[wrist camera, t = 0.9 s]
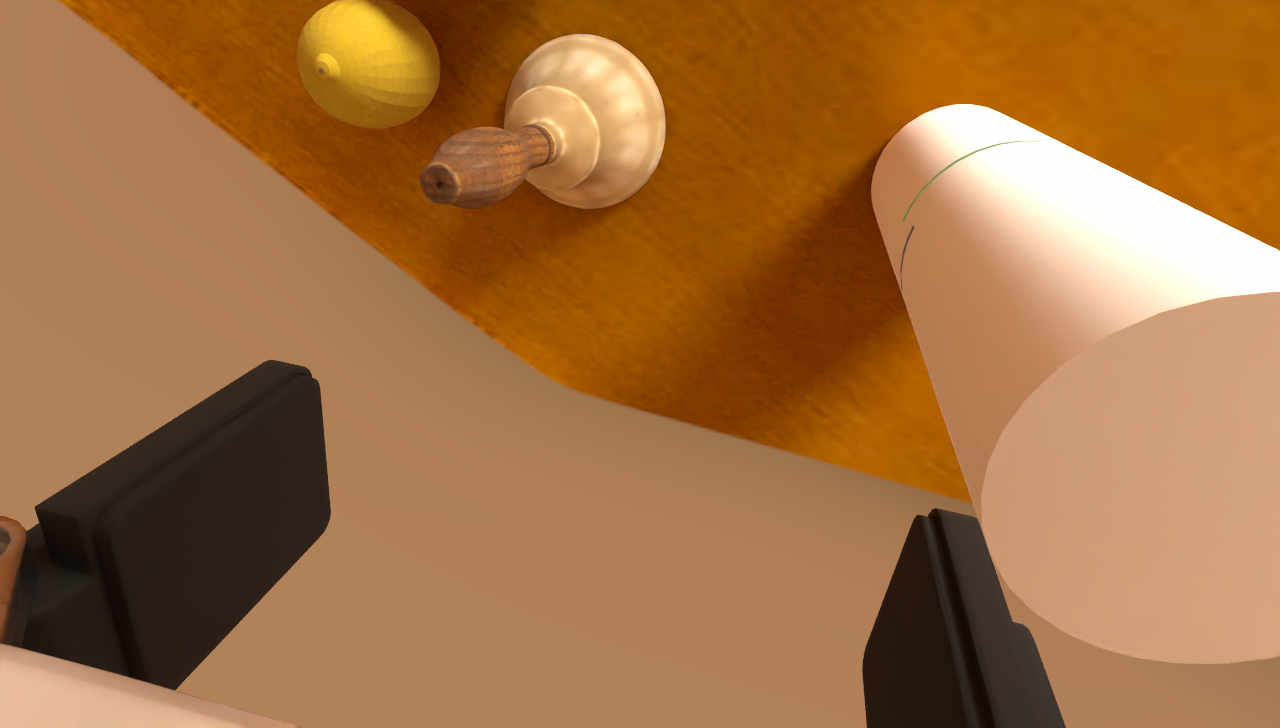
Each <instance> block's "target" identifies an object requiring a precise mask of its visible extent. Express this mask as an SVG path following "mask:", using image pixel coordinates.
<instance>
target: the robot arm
mask: <svg viewBox="0 0 1280 728" xmlns="http://www.w3.org/2000/svg"><path fill="white" fill-rule="evenodd" d="M35 510H36V513H37V517H38V520H39V524H37V525H35V526H34V527H33V528H31V529H29V530H28V531H26V529H25V528H24V527H23V526H22V525H21V524H20V523H19V522H18V521H16V520H13V519H10V518H8V517H5V516H0V728H303V727H299V726H296V725H292V724H289V723H285V722H282V721H279V720H275V719H271V718H268V717H265V716H261V715H258V714H254V713H251V712H247V711H244V710H241V709H237V708H234V707H230V706H227V705H223V704H220V703H216V702H213V701H209V700H206V699H202V698H199V697H195V696H192V695H188V694H185V693H182V692H178V691H175V690H176V689H177V688H178V687H179V686H180V684H181V683H182V682H183V681H184V680H185V679H186V678H187V677H188V676H189V675H190V674H191V673H192V672H193V671H194V669H196V668H197V667H198V665H199V664H200V663H201V662H202V661H203V660H204V659H205V658H206V657H207V656H208V655H209V654H210V653H211V652H212V651H213V650H214V649H215V647H216V646H217V645H218V644H219V643H220V642H221V641H222V640H223V639H224V638H225V637H226V636H227V635H228V634H229V633H230V631H232V629H233V628H234V627H235V626H236V625H237V624H238V623H239V622H240V621H241V620H242V619H243V618H244V617H245V616H246V615H247V614H248V613H249V611H250V610H251V609H252V608H253V607H254V606H255V605H256V604H257V603H258V602H259V601H260V600H261V599H262V598H263V596H265V594H266V593H267V592H268V591H269V590H270V589H271V588H272V587H273V586H274V585H275V584H276V583H277V582H278V581H279V580H280V578H281V577H282V576H283V575H284V574H285V573H286V572H287V571H288V570H289V569H290V568H291V567H292V566H293V565H294V564H295V563H296V562H297V561H298V560H299V558H300V557H301V556H302V555H303V554H304V553H305V552H306V551H307V550H308V549H309V548H310V547H311V546H312V545H313V544H314V542H315V541H316V540H317V539H318V538H319V537H320V536H321V535H322V534H323V533H324V531H325V529H326V528H327V526H328V523H329V520H330V514H331V509H330V498H329V486H328V474H327V462H326V452H325V440H324V428H323V416H322V405H321V393H320V386H319V383H318V381H317V380H316V379H314V378H312V374H311V372H310V371H309V369H307V368H306V367H302V366H298V365H294V364H289V363H285V362H280V361H276V360H268V361H266V362H264V363H262V364H261V365H259V366H257V367H256V368H254V369H252V370H251V371H249V372H248V373H246V374H244V375H243V376H241V377H240V378H238V379H237V380H235V381H234V382H232V383H230V384H229V385H227V386H225V387H224V388H222V389H221V390H219V391H218V392H216V393H214V394H213V395H211V396H210V397H208V398H207V399H205V400H204V401H202V402H200V403H199V404H197V405H196V406H194V407H192V408H191V409H189V410H187V411H186V412H184V413H183V414H181V415H179V416H178V417H177V418H175V419H173V420H172V421H170V422H168V423H167V424H165V425H164V426H162V427H161V428H159V429H158V430H156V431H154V432H153V433H151V434H149V435H148V436H146V437H145V438H143V439H142V440H140V441H138V442H137V443H135V444H133V445H132V446H130V447H129V448H127V449H126V450H124V451H122V452H121V453H119V454H118V455H116V456H115V457H113V458H111V459H110V460H108V461H107V462H105V463H103V464H102V465H100V466H99V467H97V468H96V469H94V470H92V471H91V472H89V473H88V474H86V475H84V476H83V477H81V478H80V479H78V480H77V481H75V482H73V483H72V484H70V485H69V486H67V487H65V488H64V489H62V490H61V491H59V492H57V493H56V494H54V495H53V496H51V497H49V498H48V499H46V500H45V501H43V502H42V503H40V504H38V505H37V506H35ZM863 684H864V696H865V709H866V721H867V728H1066V727H1065V724H1064V721H1063V718H1062V716H1061V713H1060V710H1059V707H1058V705H1057V702H1056V699H1055V696H1054V694H1053V691H1052V688H1051V686H1050V682H1049V680H1048V677H1047V674H1046V671H1045V669H1044V666H1043V663H1042V661H1041V658H1040V655H1039V652H1038V649H1037V647H1036V644H1035V641H1034V638H1033V637H1032V635H1031V633H1030V631H1029V629H1028V628H1027V627H1025V626H1024V625H1023V624H1019V623H1015V622H1013V621H1012V619H1011V616H1010V613H1009V610H1008V607H1007V604H1006V601H1005V598H1004V595H1003V592H1002V589H1001V586H1000V583H999V580H998V577H997V574H996V571H995V568H994V565H993V562H992V559H991V556H990V553H989V550H988V547H987V544H986V541H985V538H984V535H983V532H982V529H981V526H980V523H979V521H978V520H977V518H975V517H972V516H967V515H964V514H959V513H955V512H950V511H946V510H941V509H937V508H935V509H933V510H932V511H931V512H930V513H929V515H928V517H926V516H922V515H917V516H916V517H915V519H914V520H913V523H912V525H911V528H910V530H909V533H908V536H907V538H906V541H905V544H904V546H903V549H902V552H901V554H900V557H899V560H898V563H897V565H896V568H895V570H894V573H893V576H892V578H891V581H890V584H889V586H888V589H887V592H886V594H885V597H884V600H883V602H882V605H881V608H880V610H879V613H878V616H877V618H876V621H875V624H874V626H873V630H872V632H871V635H870V637H869V640H868V642H867V645H866V648H865V653H864V659H863Z"/></svg>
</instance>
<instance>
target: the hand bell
mask: <svg viewBox="0 0 1280 728" xmlns="http://www.w3.org/2000/svg"><path fill="white" fill-rule="evenodd" d="M665 131H666V121H665V112H664V106H663V102H662V98H661V96H660V93H659V90H658V87H657V85H656V83H655V82H654V80H653V78H652V76H651V75H650V73H649V72H648V70H647V69H646V67H645V66H644V65H643V64H642V63H641V62H640V61H639V60H638V59H637V58H636V57H635V56H634V55H633V54H632V53H631V52H630V51H628V50H627V49H625V48H624V47H623V46H621V45H620V44H618V43H616V42H613V41H611V40H609V39H606V38H603V37H600V36H596V35H589V34H573V35H566V36H562V37H558V38H556V39H553V40H551V41H549V42H547V43H545V44H543V45H541V46H540V47H538V48H537V49H536V50H535V51H533V52H532V53H531V54H530V55H529V56H528V57H527V58H526V59H525V60H524V62H523V63H522V64H521V66H520V67H519V68H518V70H517V72H516V74H515V75H514V77H513V79H512V82H511V84H510V87H509V90H508V94H507V98H506V105H505V124H504V129H501V128H497V127H476V128H472V129H468V130H465V131H462V132H459V133H457V134H455V135H453V136H452V137H450V138H449V139H447V140H446V141H445V142H444V143H443V144H442V145H441V146H440V147H439V148H438V150H437V151H436V153H435V155H434V156H433V158H432V160H431V162H430V163H429V164H428V165H427V166H426V167H425V168H424V169H423V171H422V173H421V176H420V184H421V189H422V191H423V192H424V194H425V196H426V197H427V198H428V199H429V200H430V201H432V202H433V203H437V204H446V205H453V206H456V207H460V208H468V209H476V208H483V207H488V206H491V205H493V204H496V203H498V202H500V201H502V200H503V199H505V198H506V197H508V196H509V195H511V194H512V193H513V192H514V191H515V190H516V189H517V188H518V187H519V186H520V184H521V183H522V182H523V180H524V179H525V180H527V181H528V182H529V183H531V184H533V185H534V186H535V187H536V188H537V189H538V190H539V191H540V192H542V193H543V194H545V195H546V196H548V197H550V198H551V199H553V200H555V201H557V202H559V203H562V204H564V205H567V206H571V207H575V208H583V209H596V208H604V207H609V206H612V205H615V204H617V203H620V202H622V201H624V200H625V199H627V198H629V197H631V196H632V195H633V194H635V193H636V192H637V191H638V190H639V189H640V188H641V187H642V186H643V185H644V184H645V183H646V182H647V181H648V179H649V178H650V177H651V175H652V174H653V172H654V171H655V169H656V167H657V165H658V162H659V160H660V157H661V154H662V150H663V147H664V141H665Z"/></svg>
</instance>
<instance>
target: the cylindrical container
mask: <svg viewBox="0 0 1280 728" xmlns="http://www.w3.org/2000/svg"><path fill="white" fill-rule="evenodd" d="M871 197H872V206H873V209H874V213H875V216H876V219H877V222H878V225H879V228H880V231H881V234H882V237H883V240H884V243H885V246H886V249H887V252H888V255H889V258H890V261H891V264H892V267H893V270H894V273H895V276H896V279H897V281H898V284H899V287H900V290H901V293H902V296H903V299H904V302H905V305H906V308H907V311H908V314H909V317H910V320H911V323H912V326H913V329H914V332H915V335H916V338H917V341H918V344H919V347H920V350H921V353H922V356H923V359H924V362H925V365H926V368H927V371H928V374H929V377H930V380H931V383H932V386H933V389H934V392H935V394H936V397H937V400H938V403H939V406H940V409H941V412H942V415H943V418H944V421H945V424H946V427H947V430H948V433H949V436H950V438H951V441H952V444H953V447H954V450H955V453H956V456H957V459H958V462H959V465H960V468H961V471H962V474H963V477H964V480H965V482H966V485H967V488H968V491H969V494H970V497H971V500H972V503H973V506H974V509H975V512H976V515H977V518H978V521H979V523H980V526H981V529H982V532H983V535H984V538H985V541H986V544H987V547H988V550H989V553H990V556H991V559H992V560H993V562H994V563H995V565H996V567H997V568H998V570H999V572H1000V573H1001V575H1002V576H1003V578H1004V580H1005V581H1006V583H1007V585H1008V586H1009V588H1010V589H1011V590H1012V591H1013V592H1014V593H1015V594H1016V595H1017V596H1018V597H1019V598H1020V599H1021V600H1022V601H1023V602H1024V603H1025V604H1026V605H1027V606H1028V607H1029V608H1030V609H1031V610H1032V611H1033V612H1034V613H1036V614H1037V615H1039V616H1040V617H1042V618H1043V619H1045V620H1046V621H1048V622H1049V623H1051V624H1052V625H1054V626H1055V627H1057V628H1058V629H1060V630H1062V631H1063V632H1065V633H1066V634H1069V635H1071V636H1073V637H1076V638H1078V639H1080V640H1083V641H1085V642H1087V643H1089V644H1092V645H1094V646H1096V647H1099V648H1102V649H1105V650H1109V651H1113V652H1116V653H1120V654H1124V655H1128V656H1131V657H1135V658H1140V659H1148V660H1155V661H1162V662H1170V663H1178V664H1179V663H1180V664H1226V663H1234V662H1244V661H1252V660H1261V659H1269V658H1274V657H1278V656H1280V251H1278V250H1276V249H1274V248H1272V247H1270V246H1268V245H1266V244H1264V243H1262V242H1260V241H1258V240H1256V239H1254V238H1252V237H1250V236H1248V235H1246V234H1244V233H1242V232H1240V231H1238V230H1236V229H1234V228H1232V227H1230V226H1228V225H1226V224H1224V223H1222V222H1220V221H1218V220H1216V219H1214V218H1212V217H1210V216H1208V215H1206V214H1204V213H1202V212H1200V211H1198V210H1195V209H1193V208H1191V207H1189V206H1187V205H1185V204H1183V203H1181V202H1179V201H1177V200H1175V199H1173V198H1171V197H1169V196H1167V195H1165V194H1163V193H1161V192H1159V191H1157V190H1155V189H1153V188H1151V187H1149V186H1147V185H1145V184H1143V183H1141V182H1139V181H1137V180H1135V179H1133V178H1131V177H1129V176H1127V175H1125V174H1123V173H1121V172H1119V171H1117V170H1115V169H1113V168H1111V167H1109V166H1107V165H1105V164H1102V163H1100V162H1098V161H1096V160H1094V159H1092V158H1090V157H1088V156H1086V155H1084V154H1082V153H1080V152H1078V151H1076V150H1074V149H1072V148H1070V147H1068V146H1066V145H1064V144H1062V143H1060V142H1058V141H1056V140H1054V139H1052V138H1050V137H1048V136H1046V135H1044V134H1042V133H1040V132H1038V131H1036V130H1034V129H1032V128H1030V127H1028V126H1026V125H1024V124H1022V123H1020V122H1018V121H1016V120H1014V119H1012V118H1010V117H1008V116H1005V115H1003V114H1001V113H999V112H997V111H994V110H992V109H989V108H987V107H982V106H976V105H952V106H946V107H941V108H938V109H935V110H932V111H930V112H927V113H924V114H922V115H921V116H919V117H917V118H916V119H914V120H913V121H911V122H909V123H908V124H907V125H905V126H904V127H903V128H902V129H901V130H900V131H899V132H898V133H896V134H895V135H894V137H893V138H892V139H891V140H890V142H889V143H888V144H887V146H886V147H885V148H884V150H883V152H882V154H881V156H880V158H879V159H878V161H877V164H876V167H875V170H874V173H873V177H872V186H871Z"/></svg>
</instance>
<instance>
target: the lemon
mask: <svg viewBox="0 0 1280 728" xmlns="http://www.w3.org/2000/svg"><path fill="white" fill-rule="evenodd" d="M296 53H297V67H298V71H299V75H300V78H301V80H302V82H303V85H304V87H305V89H306V91H307V92H308V93H309V95H310V96H311V98H312V99H313V100H314V102H315V103H316V104H317V105H318V106H320V107H321V108H322V109H323V110H324V111H325V112H326V113H328V114H329V115H331V116H333V117H334V118H336V119H338V120H340V121H341V122H344V123H347V124H351V125H354V126H358V127H362V128H390V127H394V126H397V125H401V124H404V123H407V122H409V121H410V120H412V119H413V118H415V117H416V116H418V115H419V114H421V113H422V112H423V111H424V110H425V109H426V107H427V106H428V105H429V104H430V102H431V101H432V100H433V98H434V95H435V93H436V91H437V89H438V86H439V80H440V74H441V70H440V58H439V54H438V51H437V47H436V44H435V42H434V40H433V39H432V37H431V35H430V33H429V31H428V30H427V29H426V28H425V27H424V25H423V24H422V23H421V22H420V20H419V19H418V18H416V17H415V16H414V15H413V14H411V13H410V12H409V11H408V10H406V9H405V8H403V7H401V6H399V5H397V4H394V3H392V2H390V1H387V0H338V1H335V2H333V3H331V4H329V5H327V6H325V7H324V8H322V9H320V10H319V11H317V12H316V13H315V14H314V15H313V16H312V17H311V18H310V20H309V21H308V22H307V23H306V24H305V26H304V28H303V30H302V32H301V34H300V36H299V40H298V46H297V51H296Z"/></svg>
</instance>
